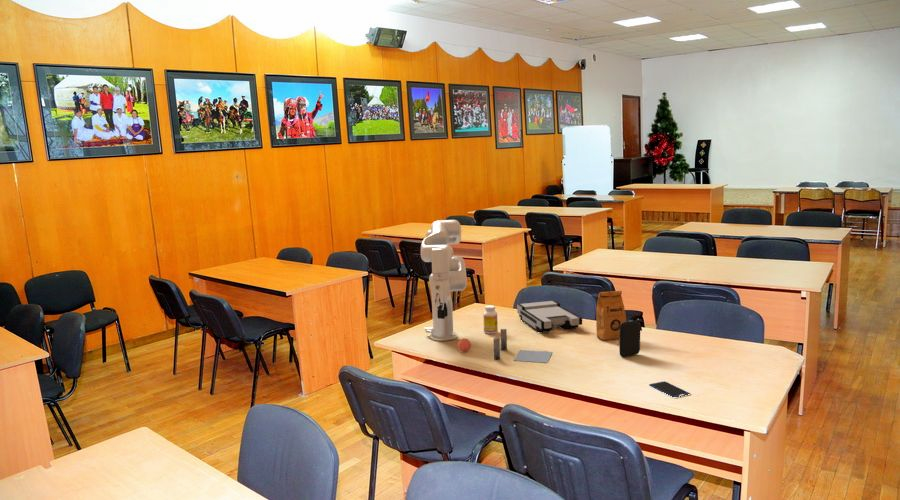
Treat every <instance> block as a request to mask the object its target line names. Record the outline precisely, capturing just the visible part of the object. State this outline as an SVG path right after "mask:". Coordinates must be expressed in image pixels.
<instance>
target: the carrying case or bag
mask: <svg viewBox="0 0 900 500" xmlns="http://www.w3.org/2000/svg"><path fill="white" fill-rule="evenodd" d="M642 331H643V328H642V325H641V323H640V322H639V320H636V319H635V320H631V321H626V322H623V323H621V325H620V339H618V340H619V341H618V342H619V345H618V346H619V350H618V351H619V356H620V357H622V358H627V357H632V356H633V357H634V356H637V355H638V354H639V353H640V350H641V332H642Z"/></svg>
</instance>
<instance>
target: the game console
mask: <svg viewBox="0 0 900 500" xmlns="http://www.w3.org/2000/svg"><path fill="white" fill-rule="evenodd" d="M516 306H517V308H516V312H517V314H518V317H519V318H520V321H521V320H522V321H521V322H523V323H524V322H525V323H524V324H525V325H527V324H528V325H529V326H528V325H527V326H528V327H530V328H531V327H532V328H531V329H533V330H534V331H535V332H537V333H538V332H539V333H538V334H540V333H541V332H542V333H549V331H553V328H554V327H555V328H556V327H558V328H560V327H561V328H560V329H562V330H563V331H570V330H576V329H577V328H579V326H580V325H583V317H581V316H579V315H578V314H576V313H574V312H572V311H571V310H569V309H567V308H565V307H563V306H561V303H560V302H558V301H556V300H549V301H537V302H536V301H535V302H529V303H528V302H526V303H518V304H517V305H516ZM569 329H570V330H569Z"/></svg>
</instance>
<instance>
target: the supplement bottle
mask: <svg viewBox="0 0 900 500" xmlns="http://www.w3.org/2000/svg"><path fill="white" fill-rule="evenodd" d="M484 308H485V311H484V312H483V313H482V315H483V332H484V333H485V334H486V335H487V334H488V335H493V334H494V335H496V334H497V333H498V331H499V330H498V329H499V328H498V327H499V326H498V325H499V324H498V312H497V311H496V306H495V305H491V304H490V305H485V307H484Z"/></svg>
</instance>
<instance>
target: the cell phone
mask: <svg viewBox="0 0 900 500" xmlns="http://www.w3.org/2000/svg"><path fill="white" fill-rule="evenodd" d="M648 386H650V387H651V388H653V389H655V390H657V391H659V392H661V393H663V392H664V393H663V394H665V393H666V394H665V395H667V394H668V395H667V396H669V395H670V396H669V397H671V396H672V397H671V398H673V397H679V396H680V398H682V397H681V396H685V395H688V394H691V393H690V392H688V391H686V390H684V389H682V388H680V387H679V386H676V385H674V384H673V383H672V384H671V383H670V382H667V381H665V380H664V381H659V382H653V383H650V384H648ZM685 397H686V396H685Z"/></svg>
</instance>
